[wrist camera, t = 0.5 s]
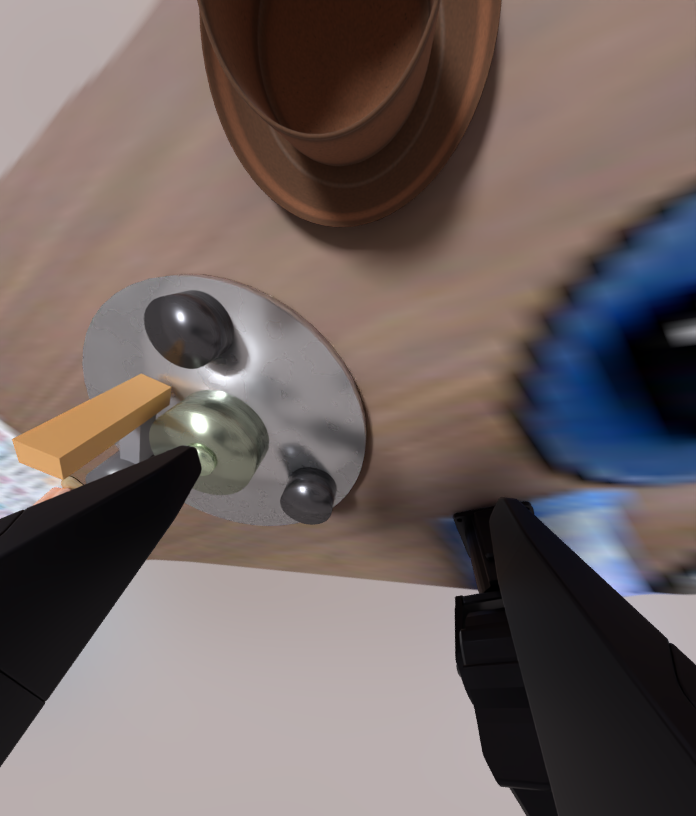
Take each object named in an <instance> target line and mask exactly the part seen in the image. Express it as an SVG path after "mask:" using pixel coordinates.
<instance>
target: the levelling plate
mask: <svg viewBox="0 0 696 816" xmlns="http://www.w3.org/2000/svg"><path fill="white" fill-rule="evenodd" d="M83 372H84V380H85V384H86V388H87V392H88V395H89V398H90V399H92V398H94V397H96V396H98V395H100V394H102V393H104V392H106V391H108V390H110V389H112V388H114V387H116V386H118V385H120V384H122V383H124V382H126V381H128V380H130V379H132V378H133V377H135V376H137V375H139V374H144V375H146V376H148V377H150V378H152V379H155V380H157V381H159V382H161V383H164V384H166V385H168V386H170V387H171V397H170V405H169V406H167V407H166V408H164V409H163V410H161V411H160V412H159V413H157V414H156V420H155V421H154V422H153V424H152V426H151V428H150V432H149V441H150V446H151V449H152V451H153V453H154V455H155V456H156V455H159V454H161V453H164V452H166V451H168V450H171V449H173V448H176V447H178V446H181V445H186V446H192V447H195V448H196V449H197V451H198V455H199V458H200V462H201V466H202V471H201V474H200V476H199V478H198V480H197V481H196V483H195V485H194V487H193V488H192V490H191V492H190V494H189V495H188V497H187V499H186V501H185V502H184V503H186V504H188V505H190V506H192V507H194V508H196V509H198V510H201V511H203V512H206V513H208V514H211V515H213V516H217V517H220V518H223V519H226V520H230V521H234V522H239V523H244V524H251V525H263V526H277V525H288V524H295V523H299V522H301V523H304V524H320V523H323V522H325V521H326V520H328V519H329V517H330V516H331V513H332V508H333V507H334V506H335V505H337V504H338V503H339V502H340V501H341V500H342V499H343V498H344V497H345V496H346V495H347V494H348V493H349V491H350V490H351V488H352V487H353V485H354V484H355V482H356V480H357V478H358V475H359V473H360V470H361V467H362V463H363V459H364V454H365V448H366V433H367V429H366V419H365V412H364V408H363V404H362V400H361V396H360V394H359V391H358V389H357V387H356V384H355V382H354V379H353V377H352V376H351V374H350V372H349V370H348V369H347V367H346V365H345V363H344V362H343V360H342V359H341V357H340V356H339V355H338V353H337V352H336V351H335V349H334V348H333V347H332V346H331V344H330V343H329V342H328V341H327V340H326V339H325V338H324V337H323V336H322V334H321V333H320V332H319V331H318V330H317V329H316V328H315V327H314V326H313V325H312V324H310V323H309V322H308V321H307V320H305V319H304V318H303V317H302V316H301V315H299V314H298V313H297V312H296V311H294V310H293V309H291V308H290V307H288V306H287V305H285V304H283V303H282V302H280V301H279V300H277V299H276V298H274V297H272V296H270V295H268V294H266V293H264V292H262V291H260V290H257V289H255V288H253V287H251V286H248V285H245V284H242V283H239V282H236V281H233V280H230V279H226V278H220V277H215V276H209V275H198V274H180V275H172V276H165V277H158V278H151V279H147V280H144V281H141V282H138V283H135V284H132V285H130V286H128V287H126V288H124V289H123V290H121V291H119V292H117V293H116V294H114V295H113V296H112V297H111V298H110V299H109V300H107V301H106V302H105V303H104V304H103V305H102V306H101V308H100V309H99V310H98V312H97V313H96V315H95V316H94V317H93V319H92V321H91V324H90V326H89V328H88V331H87V333H86V337H85V342H84V347H83ZM115 445H116V446H117V447H118V449H119V450H120V440H119V441H118V442H116V443H115Z"/></svg>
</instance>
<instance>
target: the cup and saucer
mask: <svg viewBox="0 0 696 816" xmlns="http://www.w3.org/2000/svg"><path fill="white" fill-rule="evenodd" d="M197 1H198V5H199V12H200V31H201V41H202V50H203V56H204V63H205V69H206V73H207V78H208V82H209V87H210V91H211V94H212V98H213V101H214V105H215V108H216V111H217V113H218V116H219V119H220V122H221V124H222V127H223V129H224V131H225V134H226V136H227V138H228V140H229V142H230V144H231V146H232V148H233V150H234V152H235V154H236V155H237V157H238V159H239V160H240V162H241V163H242V165H243V167H244V168H245V169H246V171H247V172H248V174H249V175H250V176H251V178H252V179H253V180H254V181H255V182H256V184H257V185H258V186H259V187H260V188H261V189H262V190H263V191H264V192H265V193H266V194H267V195H268V196H269V197H270V198H271V199H272V200H273V201H275V202H276V203H277V204H278V205H280V206H281V207H282V208H284V209H285V210H287V211H288V212H290V213H292V214H294V215H295V216H297V217H299V218H301V219H304V220H306V221H309V222H312V223H315V224H319V225H323V226H331V227H351V226H359V225H363V224H368V223H371V222H374V221H377V220H379V219H382V218H384V217H386V216H388V215H390V214H392V213H394V212H395V211H397V210H399V209H400V208H402V207H403V206H405V205H406V204H407V203H409V202H410V201H411V200H413V199H414V198H415V197H416V196H417V195H418V194H419V193H421V192H422V191H423V190H424V189H425V188H426V187H427V186H428V185H429V184H430V182H431V181H432V180H433V179H434V178H435V177H436V176H437V175H438V173H439V172H440V171H441V169H442V168H443V167H444V166H445V164H446V163H447V161H448V160H449V158H450V157H451V156H452V154H453V153H454V151H455V150H456V148H457V146H458V144H459V143H460V141H461V139H462V137H463V136H464V134H465V132H466V130H467V128H468V126H469V124H470V121H471V119H472V117H473V115H474V113H475V110H476V108H477V105H478V103H479V100H480V98H481V95H482V92H483V89H484V86H485V83H486V80H487V77H488V73H489V69H490V65H491V61H492V58H493V54H494V49H495V43H496V38H497V33H498V27H499V19H500V11H501V1H502V0H197Z"/></svg>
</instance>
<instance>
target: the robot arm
mask: <svg viewBox="0 0 696 816" xmlns="http://www.w3.org/2000/svg"><path fill="white" fill-rule="evenodd" d="M201 471H202V466H201V462H200V458H199V455H198V451H197V449H196V448H195V447H192V446H186V445H181V446H178V447H176V448H173V449H171V450H168V451H166V452H164V453H161V454H159V455H156V456H154V457H151V458H149V459H146V460H144V461H141V462H139V463H136V464H134V465H132V466H129V467H127V468H124V469H122V470H119V471H117V472H114V473H112V474H109V475H107V476H104V477H102V478H100V479H97V480H95V481H92V482H90V483H87V484H85V485H82V486H80V487H77V488H75V489H73V490H70V491H68V492H65V493H63V494H60V495H58V496H55V497H53V498H50V499H48V500H45V501H43V502H41V503H38V504H36V505H33V506H31V507H28V508H27V509H26V510H21V511H18V512H16V513H13V514H11V515H8V516H6V517H4V518H1V519H0V767H1V765H2V764H3V762H4V761H5V760H6V758H7V757H8V755H9V754H10V753H11V751H12V750H13V748H14V747H15V745H16V744H17V743H18V741H19V740H20V738H21V737H22V735H23V734H24V733H25V731H26V730H27V728H28V727H29V726H30V724H31V723H32V721H33V720H34V719H35V717H36V716H37V714H38V713H39V711H40V710H41V709H42V707H43V706H44V704H45V701H46V700H47V699H48V698H49V697H50V695H51V694H52V693H53V691H54V690H55V688H56V687H57V685H58V684H59V683H60V681H61V680H62V678H63V677H64V676H65V674H66V673H67V671H68V670H69V668H70V667H71V666H72V664H73V663H74V661H75V660H76V659H77V657H78V656H79V654H80V653H81V651H82V650H83V649H84V647H85V646H86V644H87V643H88V641H89V640H90V639H91V637H92V636H93V634H94V633H95V632H96V630H97V629H98V627H99V626H100V625H101V623H102V622H103V620H104V619H105V617H106V616H107V615H108V613H109V612H110V610H111V609H112V607H113V606H114V605H115V603H116V602H117V600H118V599H119V597H120V596H121V595H122V593H123V592H124V590H125V589H126V588H127V586H128V585H129V583H130V582H131V581H132V579H133V578H134V576H135V575H136V573H137V572H138V570H139V569H140V568H141V566H142V565H143V564H144V562H145V561H146V559H147V558H148V556H149V555H150V554H151V552H152V551H153V549H154V548H155V546H156V545H157V544H158V542H159V541H160V539H161V538H162V537H163V535H164V534H165V532H166V531H167V529H168V528H169V527H170V525H171V524H172V522H173V521H174V519H175V518H176V516H177V514H178V513H179V511H180V509H181V508H182V506H183V504H184V502H185V501H186V499H187V497H188V495H189V494H190V492H191V490H192V488H193V487H194V485H195V483H196V481H197V480H198V478H199V476H200V474H201ZM453 518H454V522H455V524H456V527H457V529H458V531H459V534H460V536H461V539H462V541H463V543H464V546H465V548H466V550H467V553H468V555H469V557H470V558H471V562H472V566H473V570H474V574H475V579H476V583H477V587H478V591H479V594H474V595H469V596H456V597H455V656H456V663H457V671H458V674H459V676H460V677H461V678H462V681H463V684H464V687H465V690H466V692H467V694H468V697H469V699H470V700H471V702H472V704H473V705H474V709H475V714H476V719H477V724H478V730H479V736H480V741H481V746H482V752H483V756H484V758H485V760H486V762H487V764H488V766H489V768H490V770H491V772H492V774H493V776H494V778H495V780H496V781H497V783H498V784H499V785H500V786H501V787H509V788H510V790H511V791H512V793H513V794H514V796H515V798H516V799H517V801H518V803H519V804H520V806H521V807H522V809H523V811H524V812H525V814H526V816H696V665H695V664H694V663H693V662H692V661H691V660H690V659H689V658H688V657H687V656H686V655H684V654H683V653H682V652H681V651H680V650H679V649H678V648H677V647H676V646H675V645H674V644H672V643H669V641H668V639H667V638H666V637H665V636H664V635H663V634H662V633H661V632H659V630H657V629H656V628H655V627H654V626H653V625H652V624H651V623H650V622H649V621H648V620H647V619H646V618H644V617H643V616H642V615H641V614H640V613H639V612H638V611H637V610H636V609H635V608H634V607H633V606H632V605H630V604H629V603H628V602H627V601H626V600H625V599H624V598H623V597H622V596H621V595H620V594H619V593H618V592H617V591H616V590H614V589H613V588H612V587H611V586H610V585H609V584H608V583H607V582H606V581H605V580H604V579H603V578H602V577H600V576H599V575H598V574H597V573H596V572H595V571H594V570H593V569H592V568H591V567H590V566H589V565H588V564H586V563H585V562H584V561H583V560H582V559H581V558H580V557H579V556H578V555H577V554H576V553H575V552H574V551H572V550H571V549H570V548H569V547H568V546H567V545H566V544H565V543H564V542H563V541H562V540H561V539H560V538H558V537H557V536H556V535H555V534H554V533H553V532H552V531H551V530H550V529H549V528H548V527H547V526H546V525H544V524H543V523H542V522H541V521H540V520H539V519H538V518H537V517H536V516H535V515H534V511H533V507H532V505H531V504H530V503H529V502H526V501H525V502H520V501H518V500H517V499H513V498H507V497H500V498H499V499H498V501H497V503H496V505H495V507H489V508H483V509H478V510H472V511H466V512H460V513H456V514H454V515H453Z"/></svg>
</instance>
